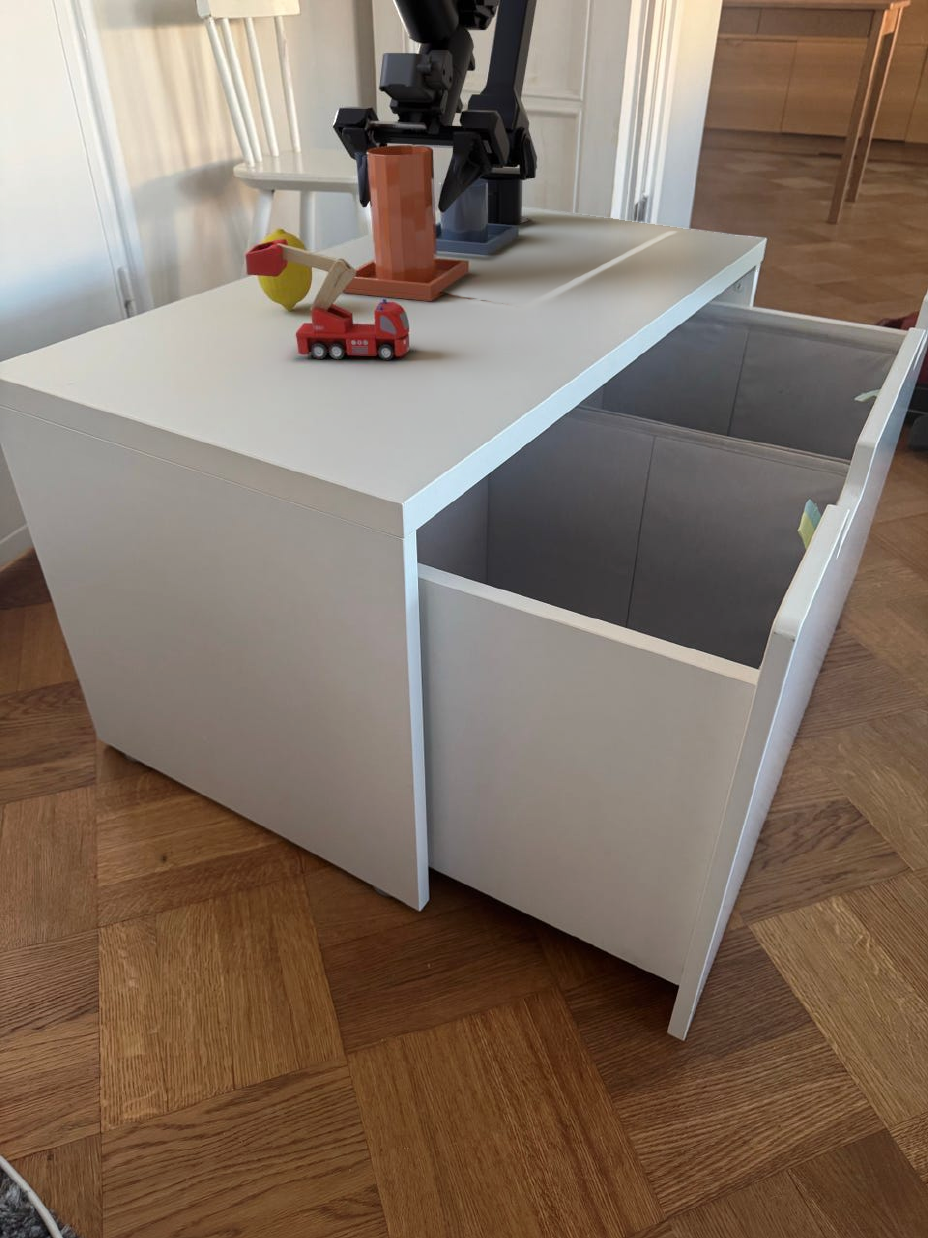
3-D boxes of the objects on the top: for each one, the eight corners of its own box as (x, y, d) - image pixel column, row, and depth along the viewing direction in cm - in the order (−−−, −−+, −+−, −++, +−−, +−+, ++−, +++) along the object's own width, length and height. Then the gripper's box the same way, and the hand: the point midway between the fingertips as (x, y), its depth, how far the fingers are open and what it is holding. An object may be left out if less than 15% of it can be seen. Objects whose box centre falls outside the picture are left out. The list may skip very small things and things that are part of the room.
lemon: (326, 305, 96) (317, 224, 92) (297, 320, 92) (286, 236, 88) (282, 299, 98) (271, 220, 94) (251, 314, 94) (239, 232, 90)
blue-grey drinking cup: (458, 233, 120) (456, 175, 116) (497, 239, 117) (497, 179, 113) (431, 243, 116) (429, 183, 112) (471, 249, 113) (471, 187, 109)
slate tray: (443, 233, 122) (443, 219, 121) (518, 239, 119) (518, 225, 118) (408, 252, 114) (408, 237, 113) (488, 259, 111) (488, 244, 110)
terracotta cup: (416, 267, 106) (410, 142, 99) (448, 280, 102) (445, 150, 94) (365, 277, 103) (355, 149, 96) (396, 291, 98) (388, 157, 91)
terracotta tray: (385, 268, 108) (384, 253, 107) (468, 275, 105) (468, 260, 104) (342, 292, 100) (340, 276, 99) (431, 301, 97) (431, 284, 96)
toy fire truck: (407, 361, 82) (401, 247, 76) (258, 358, 83) (242, 246, 78) (413, 348, 85) (407, 238, 79) (268, 346, 86) (253, 237, 80)
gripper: (331, 17, 95) (290, 153, 93) (500, 16, 89) (461, 161, 87) (371, 96, 105) (335, 219, 103) (525, 99, 99) (490, 230, 97)
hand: (401, 207), depth 98 cm, fingers open, 9 cm apart
